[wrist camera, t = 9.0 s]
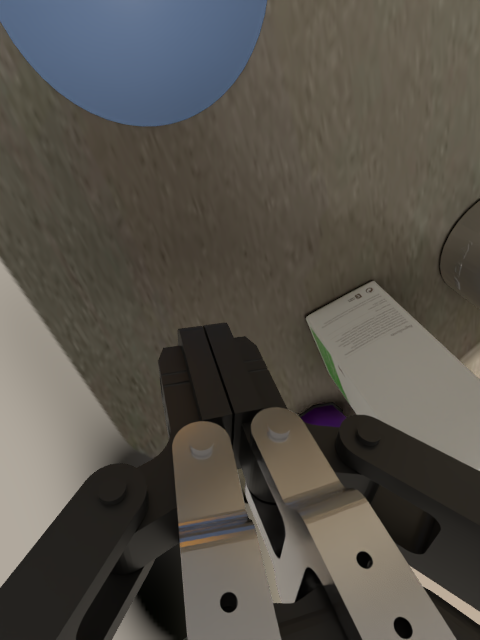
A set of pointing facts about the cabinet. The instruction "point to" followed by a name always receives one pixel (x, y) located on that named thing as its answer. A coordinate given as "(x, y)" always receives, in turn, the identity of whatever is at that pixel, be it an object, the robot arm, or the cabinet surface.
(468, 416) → the skincare box
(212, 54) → the disc
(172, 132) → the cabinet surface
